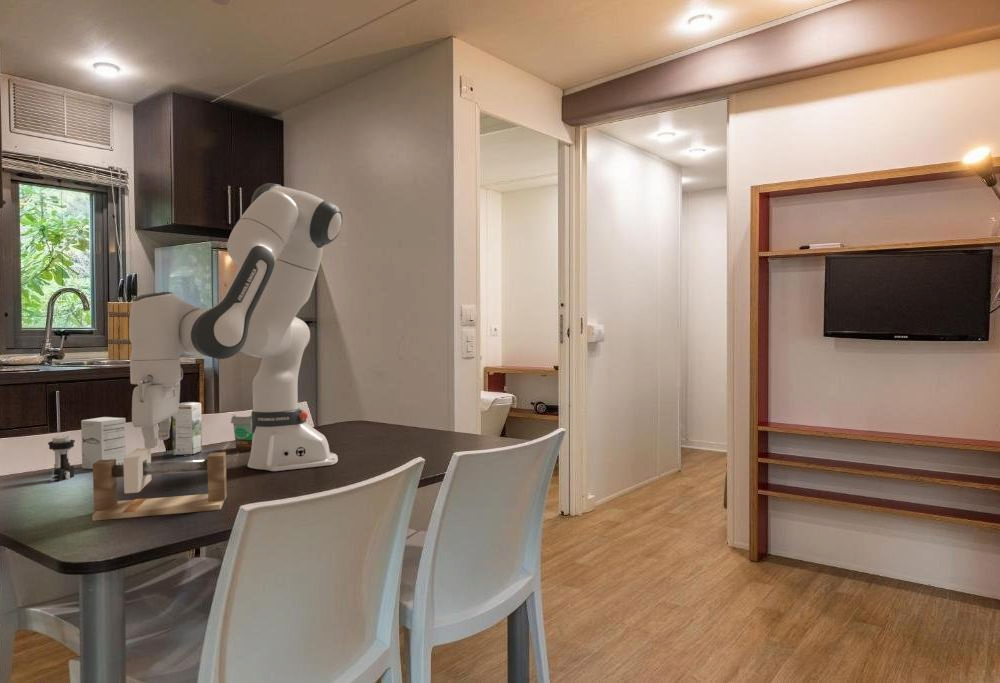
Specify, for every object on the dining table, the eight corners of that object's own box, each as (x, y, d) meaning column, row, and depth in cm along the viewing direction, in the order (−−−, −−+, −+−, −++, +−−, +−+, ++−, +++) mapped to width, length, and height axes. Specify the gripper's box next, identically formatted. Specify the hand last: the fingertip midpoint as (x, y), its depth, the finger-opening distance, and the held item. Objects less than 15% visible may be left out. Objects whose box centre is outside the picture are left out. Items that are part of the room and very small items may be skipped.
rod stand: (228, 497, 139) (227, 449, 138) (222, 509, 129) (221, 458, 129) (104, 507, 132) (103, 457, 132) (89, 520, 123) (87, 467, 122)
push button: (61, 482, 154) (60, 440, 154) (39, 482, 155) (38, 440, 154) (80, 476, 161) (79, 435, 161) (59, 476, 161) (58, 435, 161)
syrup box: (182, 452, 192) (181, 402, 191) (202, 451, 191) (201, 401, 191) (172, 456, 186) (171, 404, 186) (193, 455, 186) (191, 404, 185)
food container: (222, 451, 192) (221, 416, 192) (234, 447, 198) (233, 414, 198) (262, 451, 190) (261, 417, 190) (272, 448, 196) (272, 414, 196)
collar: (151, 479, 135) (150, 447, 135) (138, 492, 124) (137, 457, 124) (138, 480, 134) (137, 448, 134) (124, 493, 124) (123, 458, 124)
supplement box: (81, 469, 170) (79, 420, 170) (107, 463, 177) (106, 416, 176) (101, 470, 167) (100, 421, 167) (127, 465, 174) (126, 417, 174)
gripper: (159, 377, 121) (161, 452, 122) (184, 370, 141) (186, 434, 142) (121, 378, 120) (123, 454, 120) (152, 371, 140) (154, 436, 140)
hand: (157, 443), depth 131 cm, fingers open, 8 cm apart
